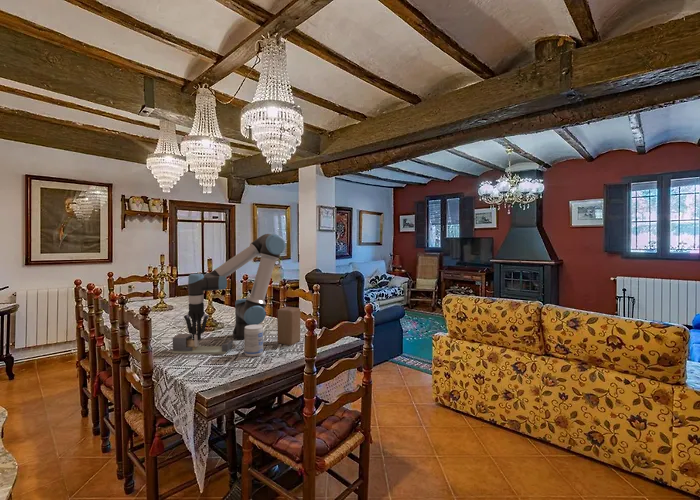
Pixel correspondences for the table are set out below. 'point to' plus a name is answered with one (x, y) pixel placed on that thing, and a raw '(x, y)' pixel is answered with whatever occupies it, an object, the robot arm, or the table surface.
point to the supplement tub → (253, 340)
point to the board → (204, 350)
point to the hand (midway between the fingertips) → (196, 345)
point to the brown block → (191, 343)
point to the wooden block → (288, 325)
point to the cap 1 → (181, 342)
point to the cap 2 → (227, 346)
